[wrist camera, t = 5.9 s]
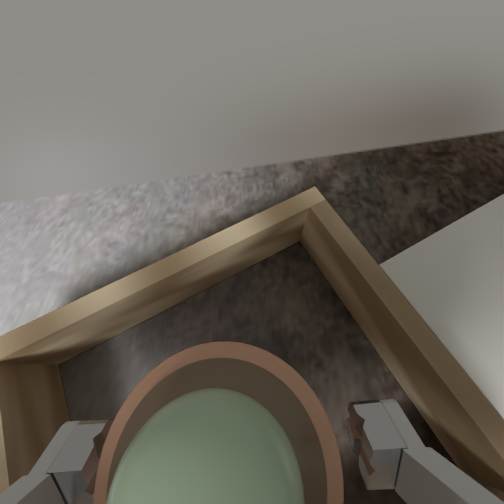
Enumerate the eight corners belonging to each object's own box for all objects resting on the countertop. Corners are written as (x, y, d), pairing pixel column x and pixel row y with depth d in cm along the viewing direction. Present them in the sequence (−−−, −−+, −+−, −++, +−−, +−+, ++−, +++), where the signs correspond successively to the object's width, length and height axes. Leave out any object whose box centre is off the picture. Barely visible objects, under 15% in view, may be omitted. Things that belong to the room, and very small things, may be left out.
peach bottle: (261, 342, 15) (267, 265, 5) (312, 438, 13) (536, 700, 3) (177, 390, 14) (-65, 438, 4) (218, 501, 12) (-41, 1328, 2)
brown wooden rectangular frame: (303, 223, 18) (315, 186, 15) (493, 482, 12) (590, 527, 9) (37, 357, 15) (-33, 351, 12) (118, 796, 9) (25, 1074, 6)
